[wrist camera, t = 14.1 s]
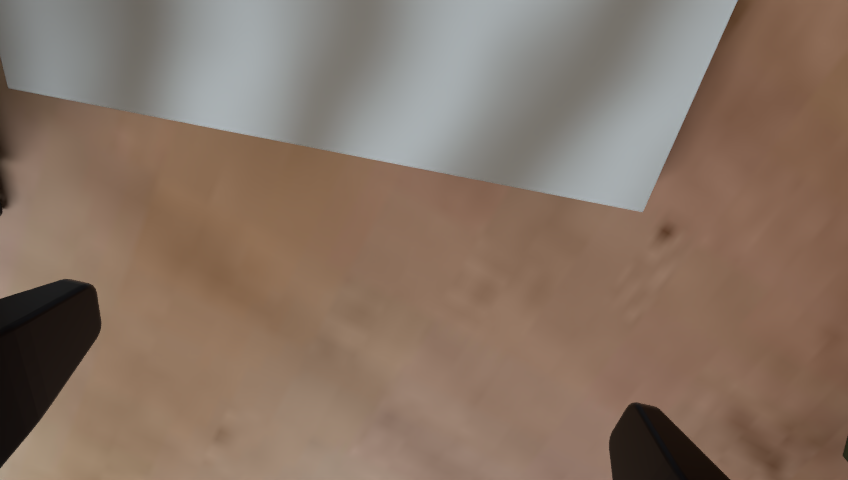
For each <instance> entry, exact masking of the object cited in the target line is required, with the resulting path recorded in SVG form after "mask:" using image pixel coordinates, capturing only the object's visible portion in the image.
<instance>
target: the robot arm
mask: <svg viewBox="0 0 848 480" xmlns="http://www.w3.org/2000/svg"><path fill="white" fill-rule="evenodd" d="M1 214H2V206H1V203H0V216H1ZM100 329H101V317H100V310H99V304H98V298H97V292H96V289H95V288H94V286H93V285H91V284H89V283H85V282H80V281H76V280H71V279H63V280H59V281H56V282H53V283H50V284H46V285H43V286H40V287H37V288H34V289H30V290H27V291H24V292H21V293H18V294H14V295H11V296H8V297H5V298H1V299H0V468H1V467H2V466H3V464H4V463H5V462H6V461H7V460H8V458H9V457H10V456H11V455H12V454H13V452H14V451H15V450H16V449H17V448H18V447H19V445H20V444H21V443H22V442H23V441H24V439H25V438H26V437H27V436H28V435H29V433H30V432H31V431H32V430H33V428H34V427H35V426H36V425H37V423H38V422H39V421H40V419H41V418H42V417H43V415H44V414H45V413H46V411H47V410H48V409H49V407H50V406H51V404H52V403H53V401H54V400H55V399H56V397H57V396H58V394H59V393H60V391H61V390H62V388H63V387H64V385H65V384H66V382H67V381H68V380H69V378H70V377H71V375H72V374H73V372H74V371H75V369H76V368H77V366H78V365H79V364H80V362H81V361H82V359H83V358H84V356H85V355H86V353H87V352H88V350H89V349H90V347H91V346H92V345H93V343H94V342H95V340H96V339H97V337H98V335H99V333H100ZM609 451H610V460H611V469H612V478H613V480H730V479H729V478H728V477H727V476H726V475H725V474H724V473H723V472H722V471H721V470H720V469H719V468H718V467H717V466H716V465H715V464H714V463H713V462H712V461H711V460H710V459H709V458H708V457H707V456H706V455H705V454H704V453H703V452H702V451H701V450H700V449H699V448H698V447H697V446H696V445H695V444H694V443H693V442H692V441H691V440H690V439H689V438H688V437H687V436H686V435H685V434H684V433H683V432H682V431H681V430H680V429H679V428H678V427H677V426H676V425H675V424H674V423H673V422H672V421H671V420H670V419H669V418H668V417H667V416H666V415H665V414H664V413H663V412H662V411H661V410H660V409H658V408H657V407H654V406H651V405H646V404H641V403H631V404H630V405H628V407H627V408H626V410H625V411H624V413H623V415H622V416H621V418H620V420H619V421H618V423H617V425H616V426H615V428H614V429H613V431H612V433H611V436H610V440H609Z"/></svg>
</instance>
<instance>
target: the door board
mask: <svg viewBox="0 0 848 480" xmlns="http://www.w3.org/2000/svg"><path fill="white" fill-rule="evenodd" d="M736 3H737V0H0V57H1V61H2V65H3V69H4V73H5V77H6V81H7V85H8V88H10V89H15V90H21V91H26V92H31V93H36V94H41V95H46V96H51V97H56V98H61V99H67V100H72V101H77V102H82V103H87V104H92V105H97V106H102V107H108V108H113V109H118V110H123V111H128V112H133V113H138V114H143V115H148V116H154V117H159V118H164V119H169V120H174V121H179V122H184V123H189V124H194V125H200V126H205V127H210V128H215V129H220V130H225V131H230V132H235V133H241V134H246V135H251V136H256V137H261V138H266V139H271V140H276V141H281V142H287V143H292V144H297V145H302V146H307V147H312V148H317V149H322V150H328V151H333V152H338V153H343V154H348V155H353V156H358V157H363V158H368V159H374V160H379V161H384V162H389V163H394V164H399V165H404V166H409V167H414V168H420V169H425V170H430V171H435V172H440V173H445V174H450V175H455V176H461V177H466V178H471V179H476V180H481V181H486V182H491V183H496V184H501V185H507V186H512V187H517V188H522V189H527V190H532V191H537V192H542V193H548V194H553V195H558V196H563V197H568V198H573V199H578V200H583V201H588V202H594V203H599V204H604V205H609V206H614V207H619V208H624V209H629V210H634V211H640V212H643V210H644V208H645V206H646V204H647V201H648V199H649V197H650V195H651V192H652V190H653V188H654V186H655V184H656V181H657V179H658V177H659V175H660V172H661V170H662V168H663V166H664V163H665V161H666V159H667V157H668V154H669V152H670V150H671V148H672V146H673V143H674V141H675V139H676V137H677V134H678V132H679V130H680V128H681V125H682V123H683V121H684V119H685V117H686V114H687V112H688V110H689V108H690V105H691V103H692V101H693V99H694V96H695V94H696V92H697V90H698V88H699V85H700V83H701V81H702V79H703V76H704V74H705V72H706V70H707V67H708V65H709V63H710V61H711V59H712V56H713V54H714V52H715V50H716V47H717V45H718V43H719V41H720V38H721V36H722V34H723V32H724V29H725V27H726V25H727V23H728V21H729V18H730V16H731V14H732V12H733V9H734V7H735V5H736Z"/></svg>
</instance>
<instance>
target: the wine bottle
mask: <svg viewBox="0 0 848 480" xmlns="http://www.w3.org/2000/svg"><path fill="white" fill-rule="evenodd" d="M843 457H844V458H845V459H846V460H847V462H848V438H847V442H846V445H845V449H844V453H843Z"/></svg>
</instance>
